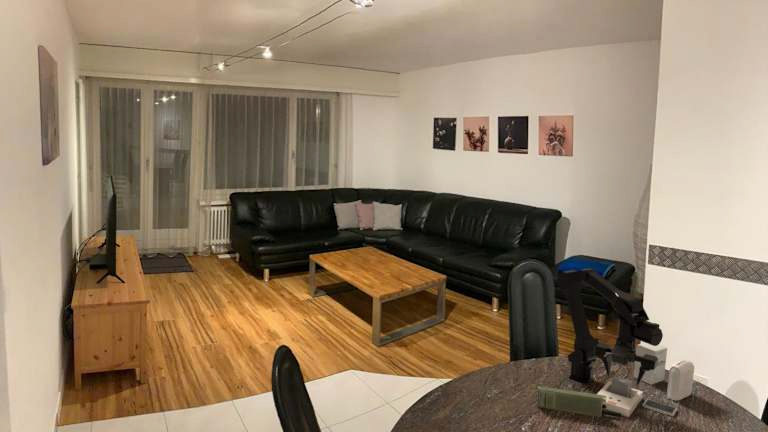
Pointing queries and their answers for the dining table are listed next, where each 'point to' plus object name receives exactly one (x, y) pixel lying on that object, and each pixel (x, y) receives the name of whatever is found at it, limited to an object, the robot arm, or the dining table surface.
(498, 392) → the dining table surface
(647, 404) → the phone slab
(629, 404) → the white grey flat device
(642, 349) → the supplement box
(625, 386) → the block
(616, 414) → the handheld radio
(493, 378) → the dining table surface
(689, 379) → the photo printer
